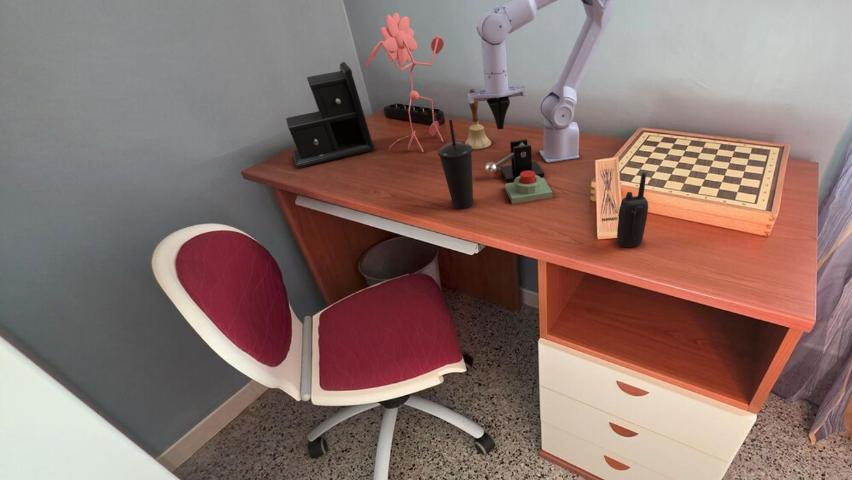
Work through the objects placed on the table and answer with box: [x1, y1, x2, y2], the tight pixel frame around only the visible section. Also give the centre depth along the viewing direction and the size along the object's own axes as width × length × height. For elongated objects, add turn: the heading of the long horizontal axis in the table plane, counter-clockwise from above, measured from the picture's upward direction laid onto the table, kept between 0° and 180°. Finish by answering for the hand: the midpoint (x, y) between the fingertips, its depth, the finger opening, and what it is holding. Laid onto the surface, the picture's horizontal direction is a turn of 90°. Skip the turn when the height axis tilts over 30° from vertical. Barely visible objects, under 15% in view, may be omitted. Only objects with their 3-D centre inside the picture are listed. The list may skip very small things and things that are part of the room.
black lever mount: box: [499, 138, 545, 184], centre depth 110 cm, size 10×8×8 cm
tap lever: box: [483, 142, 524, 178], centre depth 109 cm, size 12×4×4 cm, turn 102°
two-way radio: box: [616, 172, 649, 248], centre depth 80 cm, size 6×4×15 cm
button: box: [520, 171, 535, 184], centre depth 102 cm, size 4×4×2 cm
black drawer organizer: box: [285, 61, 375, 169], centre depth 125 cm, size 23×11×24 cm, turn 116°
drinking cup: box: [437, 119, 474, 211], centre depth 96 cm, size 8×8×20 cm
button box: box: [504, 175, 554, 205], centre depth 103 cm, size 10×8×4 cm
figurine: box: [365, 12, 457, 153], centre depth 123 cm, size 15×26×35 cm, turn 145°
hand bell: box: [464, 88, 492, 150], centre depth 126 cm, size 8×8×16 cm
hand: (500, 127), depth 111 cm, fingers closed
